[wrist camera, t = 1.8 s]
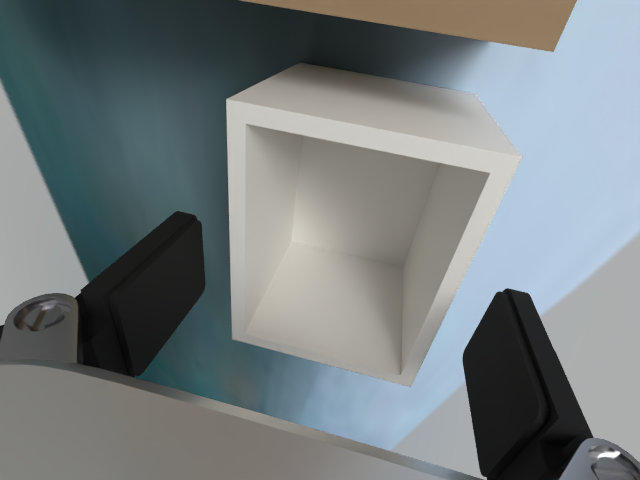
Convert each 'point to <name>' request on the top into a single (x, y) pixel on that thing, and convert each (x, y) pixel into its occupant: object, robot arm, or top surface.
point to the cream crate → (356, 213)
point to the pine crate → (455, 17)
